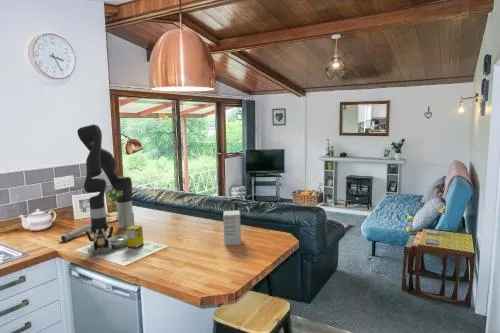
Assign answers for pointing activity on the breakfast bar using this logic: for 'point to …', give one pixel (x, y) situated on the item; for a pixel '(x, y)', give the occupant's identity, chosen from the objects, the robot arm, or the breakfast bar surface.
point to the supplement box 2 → (232, 227)
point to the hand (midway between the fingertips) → (101, 246)
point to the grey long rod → (75, 232)
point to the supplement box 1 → (135, 236)
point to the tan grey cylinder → (101, 241)
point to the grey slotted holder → (108, 247)
